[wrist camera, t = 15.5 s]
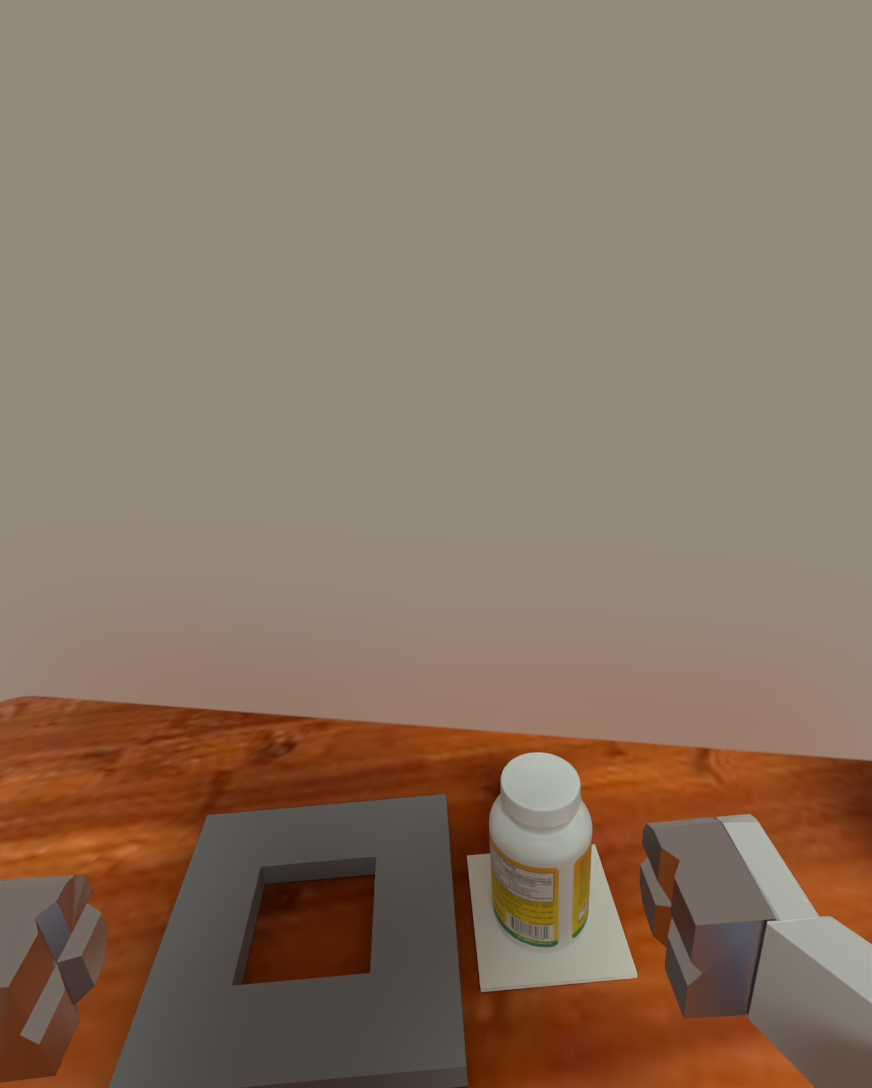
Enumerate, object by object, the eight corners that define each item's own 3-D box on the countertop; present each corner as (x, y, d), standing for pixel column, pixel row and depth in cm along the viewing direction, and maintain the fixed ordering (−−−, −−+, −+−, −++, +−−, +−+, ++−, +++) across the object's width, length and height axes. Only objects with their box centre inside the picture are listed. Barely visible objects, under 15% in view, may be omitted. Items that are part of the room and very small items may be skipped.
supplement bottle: (519, 973, 33) (514, 836, 29) (477, 887, 38) (469, 760, 34) (609, 934, 35) (615, 800, 31) (559, 856, 39) (559, 731, 35)
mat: (480, 992, 33) (480, 988, 33) (467, 859, 40) (466, 855, 40) (637, 977, 33) (637, 973, 33) (594, 847, 40) (594, 844, 40)
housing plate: (113, 1119, 29) (103, 1100, 28) (212, 831, 43) (207, 815, 43) (468, 1085, 29) (466, 1066, 28) (447, 810, 44) (445, 793, 43)
